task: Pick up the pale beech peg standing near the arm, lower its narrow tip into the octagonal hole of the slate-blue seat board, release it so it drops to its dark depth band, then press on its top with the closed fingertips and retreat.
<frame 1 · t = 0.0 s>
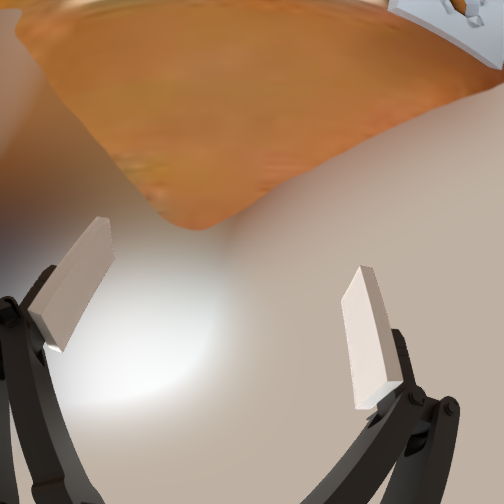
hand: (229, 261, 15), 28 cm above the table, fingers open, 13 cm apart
board: (451, 0, 20), on the table
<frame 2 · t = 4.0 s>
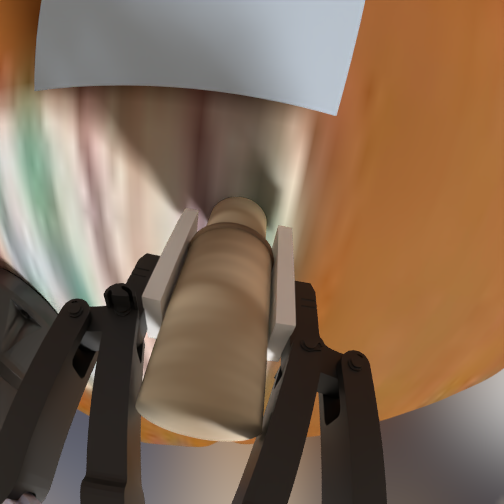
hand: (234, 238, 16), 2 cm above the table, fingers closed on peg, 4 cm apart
peg: (238, 221, 18), on the table, touching gripper
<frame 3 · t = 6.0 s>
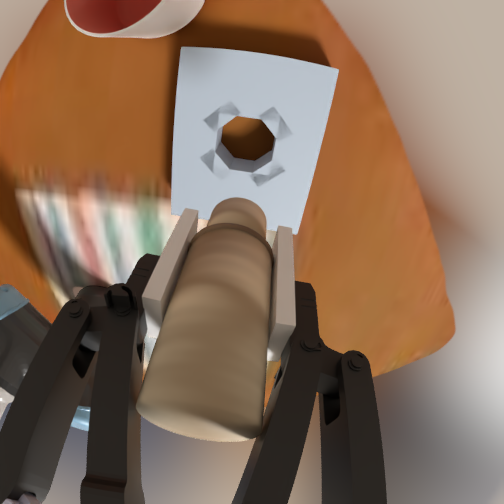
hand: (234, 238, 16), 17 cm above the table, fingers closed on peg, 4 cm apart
peg: (238, 222, 18), point 15 cm above the table, touching gripper
board: (248, 135, 29), on the table
when the fingers open (5 cm above the table, at t = 8.3 s): peg drops 3 cm, resting in board.
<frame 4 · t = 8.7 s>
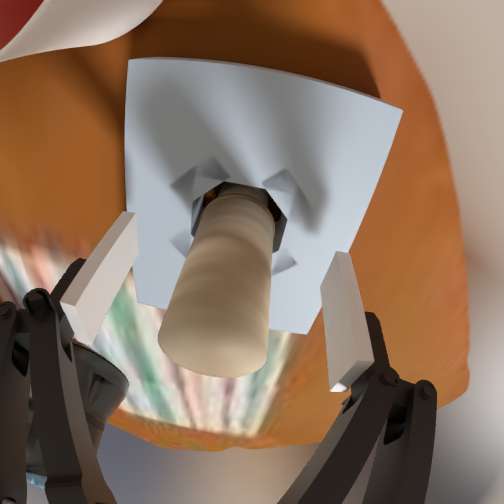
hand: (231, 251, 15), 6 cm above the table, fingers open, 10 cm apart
peg: (243, 198, 20), resting in board
board: (243, 198, 20), on the table
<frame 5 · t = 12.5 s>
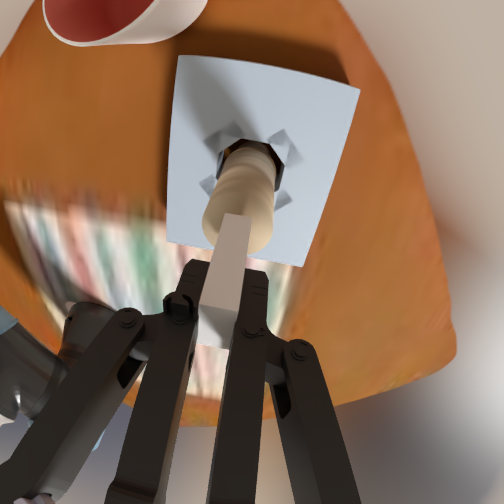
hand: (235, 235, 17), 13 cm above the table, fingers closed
peg: (252, 157, 27), resting in board
board: (252, 157, 27), on the table
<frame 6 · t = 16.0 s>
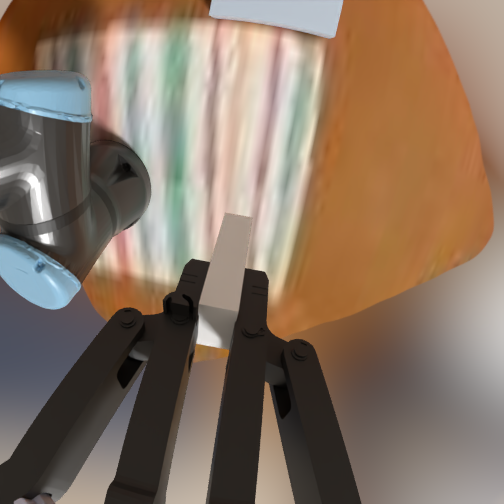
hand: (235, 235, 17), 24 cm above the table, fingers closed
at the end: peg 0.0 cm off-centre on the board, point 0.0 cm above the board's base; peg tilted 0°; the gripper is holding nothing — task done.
